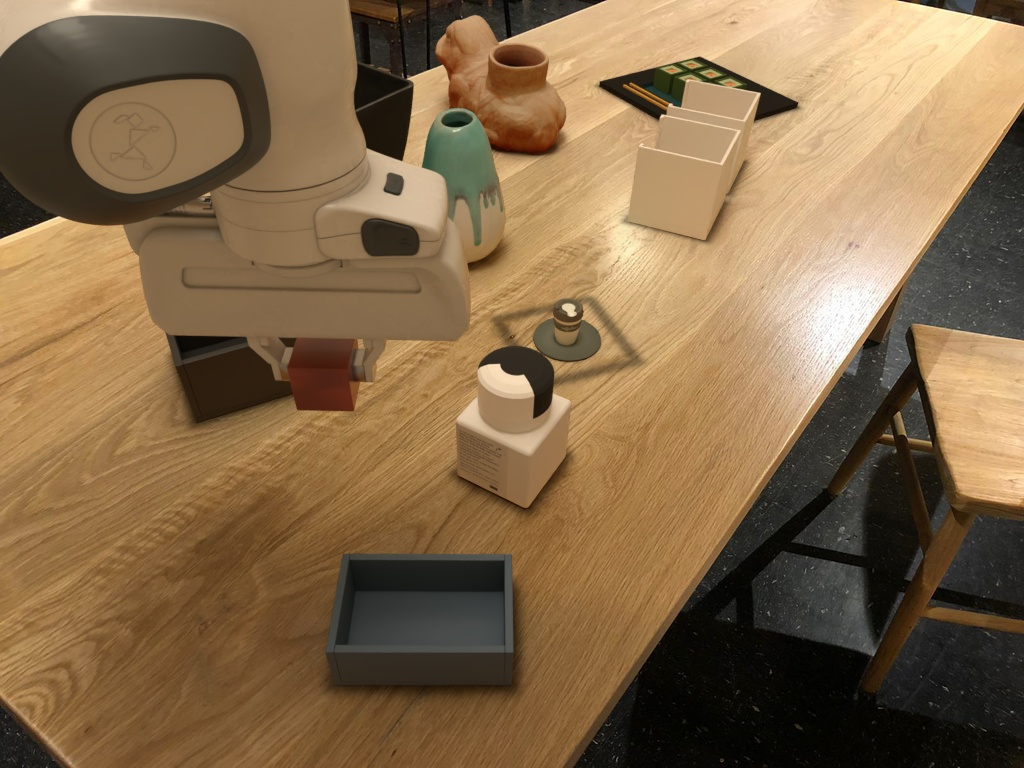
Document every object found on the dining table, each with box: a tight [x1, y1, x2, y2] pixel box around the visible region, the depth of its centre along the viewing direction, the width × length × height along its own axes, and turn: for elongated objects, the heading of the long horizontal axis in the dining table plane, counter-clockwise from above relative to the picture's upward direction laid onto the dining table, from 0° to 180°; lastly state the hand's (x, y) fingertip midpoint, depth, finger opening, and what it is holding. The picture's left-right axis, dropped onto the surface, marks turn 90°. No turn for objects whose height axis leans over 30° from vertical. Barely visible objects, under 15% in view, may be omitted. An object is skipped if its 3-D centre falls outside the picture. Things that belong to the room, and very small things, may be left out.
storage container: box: [626, 79, 761, 241], centre depth 109 cm, size 25×11×11 cm, turn 156°
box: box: [325, 553, 515, 686], centre depth 58 cm, size 13×8×5 cm, turn 91°
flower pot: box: [354, 60, 415, 162], centre depth 101 cm, size 19×19×17 cm
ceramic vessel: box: [434, 14, 567, 155], centre depth 122 cm, size 14×26×15 cm, turn 40°
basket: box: [164, 331, 297, 423], centre depth 79 cm, size 11×11×8 cm
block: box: [287, 338, 361, 412], centre depth 53 cm, size 4×4×4 cm
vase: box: [421, 108, 507, 264], centre depth 94 cm, size 12×12×18 cm
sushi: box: [598, 55, 799, 122], centre depth 136 cm, size 25×25×4 cm
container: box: [455, 345, 572, 509], centre depth 68 cm, size 8×8×13 cm
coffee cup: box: [532, 297, 602, 362], centre depth 85 cm, size 12×12×5 cm
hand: (327, 375), depth 54 cm, fingers closed on block, 4 cm apart
